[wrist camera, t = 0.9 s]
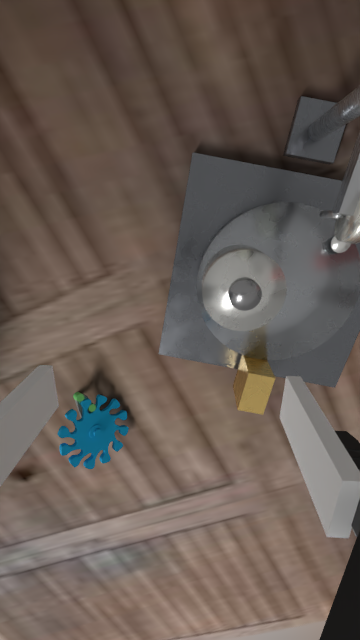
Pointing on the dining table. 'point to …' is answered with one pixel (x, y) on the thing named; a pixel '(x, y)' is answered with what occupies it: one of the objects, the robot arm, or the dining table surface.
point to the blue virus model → (92, 430)
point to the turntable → (287, 291)
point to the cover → (242, 288)
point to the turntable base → (198, 231)
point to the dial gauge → (330, 154)
